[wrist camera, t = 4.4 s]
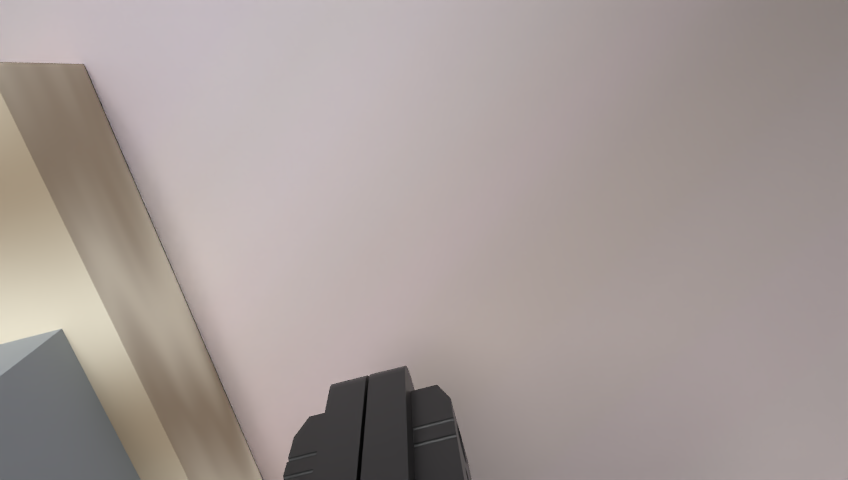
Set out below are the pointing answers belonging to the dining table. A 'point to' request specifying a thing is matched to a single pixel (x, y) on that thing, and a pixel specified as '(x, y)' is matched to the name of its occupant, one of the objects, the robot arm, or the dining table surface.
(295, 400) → the dining table surface
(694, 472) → the dining table surface
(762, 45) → the dining table surface
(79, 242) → the tunnel deck
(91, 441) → the grey block
